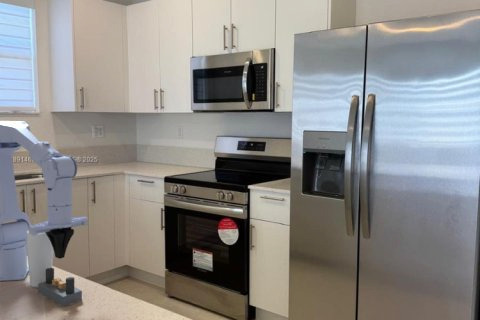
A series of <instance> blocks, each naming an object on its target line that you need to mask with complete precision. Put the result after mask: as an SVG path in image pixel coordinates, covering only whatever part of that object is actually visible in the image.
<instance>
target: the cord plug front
mask: <svg viewBox="0 0 480 320" xmlns="http://www.w3.org/2000/svg"><path fill="white" fill-rule="evenodd" d="M65 281H66V294H72V293H74V287H75V277H73V276H69V277H66V278H65Z"/></svg>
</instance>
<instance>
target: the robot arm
mask: <svg viewBox="0 0 480 320" xmlns="http://www.w3.org/2000/svg"><path fill="white" fill-rule="evenodd" d="M30 127H31V126H30V125H29V124H28V123H27V122H26V121H24V120H11V121H10V120H0V281H19V280H20V281H21V280H22V281H23V280H25V278H26V277H27V275H28V274H29V266H28V256H27V245H26V237H27V231H28V230H29V234H31V235H37V234H39V233H44V232H45V233H46V235H47V236H48V238H49V240H50V242H51V244H52V247H53V250H54V252H53V254H54V257H55V258H56V259H60V260H61V259H63V258H65V256H66V253H67V252H66V251H67V249H68V245H69V243H70V241H71V238H72V237H73V235H74V234H75V230H74V228H75V227H79V226H87V225H89V223H88V220H89V219H88V217H87V216H80V217H79V216H77V217H73V179H74V178H75V177H76V176H77V174H78V164H77V161H76V159H74V157H73V156H72V155H63V154H62V153H61V152H60V151H57V150H56V149H55V148H54V147H53V146H52V145H51V143H50V142H49V141H39V139H38V138H37V136H35V135H34V134H33V133H32V132H31V128H30ZM21 148H24V149H25V150H26V151H28V155H29V159H31V161H33V162H34V164H36V165H37V166H38V168H41V172H42V173H41V174H42V176H43V180H44V186H45V187H46V189H47V190H46V197H47V198H46V202H47V203H46V205H47V206H46V209H47V210H46V211H47V212H46V217H47V221H44V222H43V221H42V222H40V223H37V224H34V225H32V224H31V222H30V219H29V215H28V214H27V213H26V212H24V211H22V210H20V207H19V201H18V200H19V199H18V193H17V185H16V184H17V183H16V178H15V170H14V162H13V154H14V153H15V152H17V151H20V149H21ZM10 221H11V222H10Z"/></svg>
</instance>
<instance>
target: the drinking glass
mask: <svg viewBox="0 0 480 320" xmlns="http://www.w3.org/2000/svg"><path fill="white" fill-rule="evenodd" d="M25 245H26V248H27V267H29V271H28V275H29V286H30V287H31V288H37V289H38V284H39V283H42V282H46V269H47V268H53V261H54V260H53V259H54V250H53V247H52V244H51V242H50V240H49V238H48V236H47V235H46V233H45V232H44V233H39V234H37V235H31V234H29V230H28V231H27V237H26V244H25Z"/></svg>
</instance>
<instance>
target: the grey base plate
mask: <svg viewBox="0 0 480 320" xmlns="http://www.w3.org/2000/svg"><path fill="white" fill-rule="evenodd" d="M55 279H57V278H55ZM61 282H63V280H61ZM37 289H38V290H37V293H38V294H39V295H41V296H43V297H45V298H47V299H49V300H50V301H53V302H54V303H56V304H57V305H59V306H61V307H66V306H70V305H73V304H75V303H77V302H80V301H82V300H83V298H82V296H83V291H82V289H80V288H77V287H75V286H74V293H72V294H66V287H65V288H62V289H60V288H58V285H55V286H54V285H52V283H50V284H47V283H46V282H42V283H39V284H38V288H37Z"/></svg>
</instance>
